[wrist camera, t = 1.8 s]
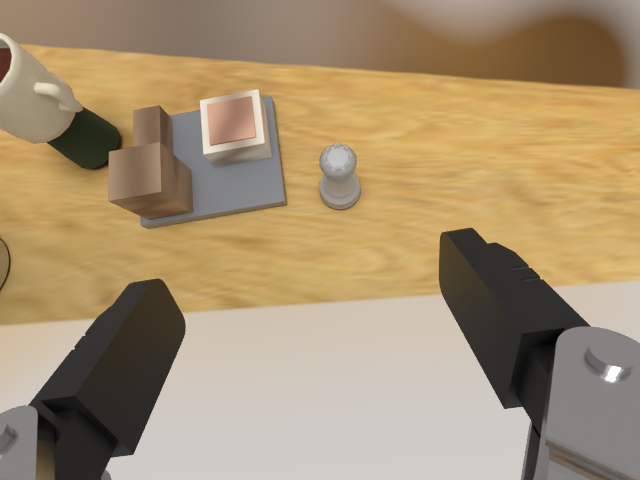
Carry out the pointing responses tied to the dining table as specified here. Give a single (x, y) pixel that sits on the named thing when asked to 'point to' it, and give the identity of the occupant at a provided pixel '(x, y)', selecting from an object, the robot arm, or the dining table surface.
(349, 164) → the rook chess piece
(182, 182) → the walnut castle blocks
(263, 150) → the white square block
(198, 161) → the baseplate
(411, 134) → the dining table surface
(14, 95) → the character mug
